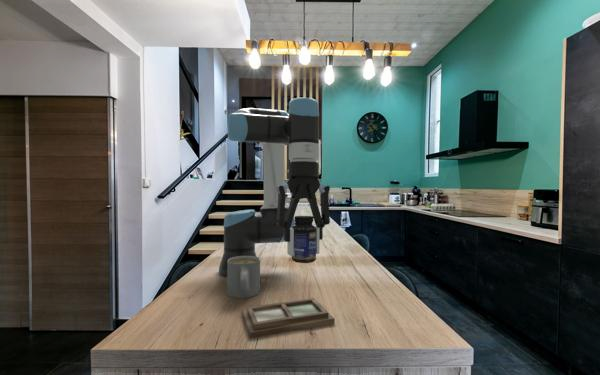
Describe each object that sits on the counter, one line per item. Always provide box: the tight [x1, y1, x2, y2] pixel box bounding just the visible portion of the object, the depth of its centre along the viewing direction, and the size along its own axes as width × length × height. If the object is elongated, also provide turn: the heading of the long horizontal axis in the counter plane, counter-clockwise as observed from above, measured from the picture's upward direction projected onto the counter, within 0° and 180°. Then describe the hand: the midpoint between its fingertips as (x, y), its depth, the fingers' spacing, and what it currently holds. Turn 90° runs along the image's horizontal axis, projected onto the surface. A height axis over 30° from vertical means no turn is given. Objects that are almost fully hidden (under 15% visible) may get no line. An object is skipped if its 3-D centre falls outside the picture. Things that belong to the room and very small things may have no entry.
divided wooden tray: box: [242, 297, 335, 339], centre depth 70 cm, size 12×20×2 cm, turn 109°
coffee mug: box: [226, 255, 261, 299], centre depth 86 cm, size 13×10×10 cm
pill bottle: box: [291, 215, 317, 264], centre depth 71 cm, size 6×6×11 cm
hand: (303, 253), depth 71 cm, fingers closed on pill bottle, 6 cm apart
